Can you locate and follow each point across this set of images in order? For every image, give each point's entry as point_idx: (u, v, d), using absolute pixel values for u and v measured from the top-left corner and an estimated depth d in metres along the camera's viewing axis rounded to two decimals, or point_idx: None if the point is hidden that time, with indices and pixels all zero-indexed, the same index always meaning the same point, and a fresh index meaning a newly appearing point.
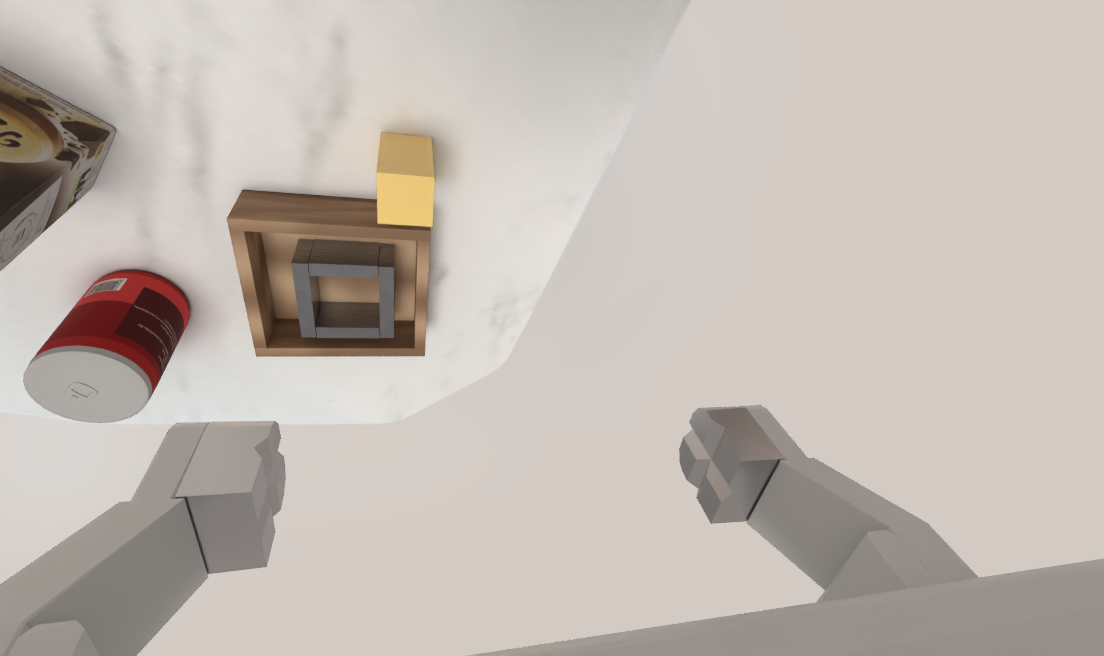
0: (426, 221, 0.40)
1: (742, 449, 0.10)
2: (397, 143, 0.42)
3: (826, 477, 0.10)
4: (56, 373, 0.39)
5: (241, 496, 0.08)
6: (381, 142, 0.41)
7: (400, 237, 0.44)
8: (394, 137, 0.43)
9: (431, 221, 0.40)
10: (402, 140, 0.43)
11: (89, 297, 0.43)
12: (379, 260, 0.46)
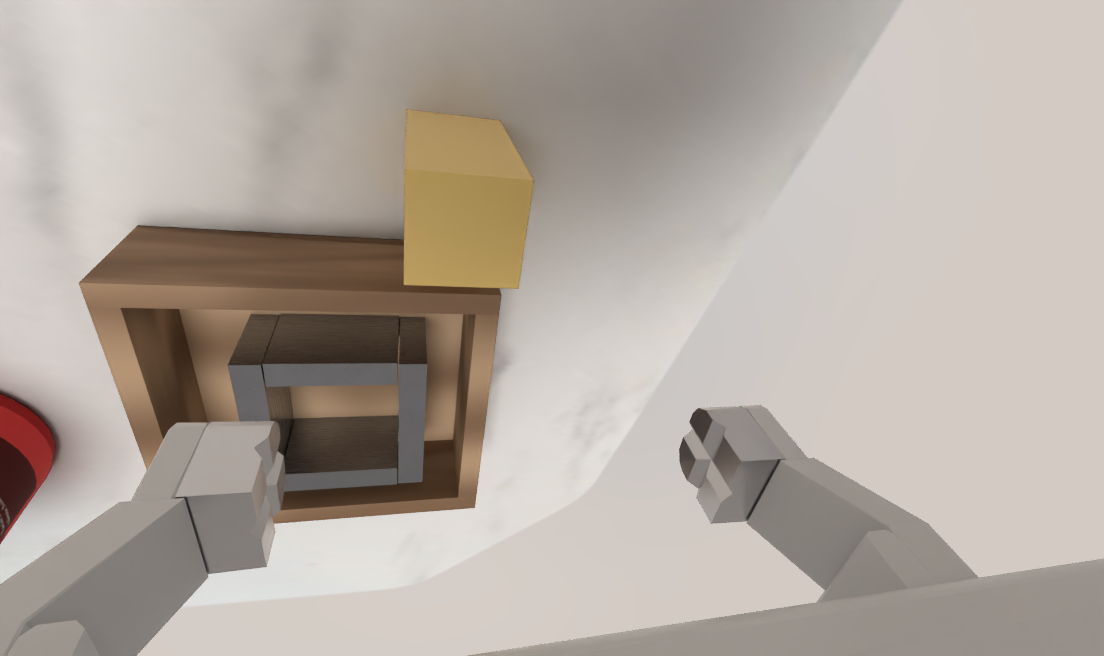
0: (506, 278, 0.19)
1: (742, 449, 0.10)
2: (440, 125, 0.21)
3: (826, 477, 0.10)
4: None
5: (241, 496, 0.08)
6: (409, 122, 0.21)
7: (443, 309, 0.22)
8: (432, 117, 0.22)
9: (517, 277, 0.19)
10: (448, 121, 0.22)
11: None
12: (400, 351, 0.25)
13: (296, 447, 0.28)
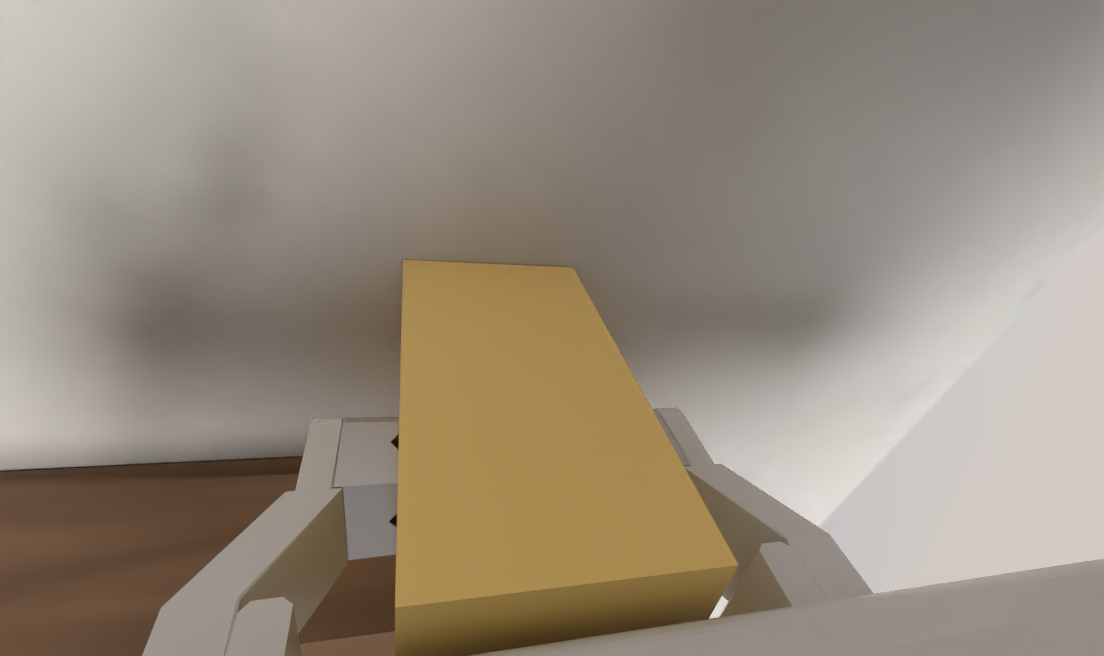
0: None
1: None
2: (471, 310, 0.10)
3: (729, 484, 0.09)
4: None
5: (389, 486, 0.08)
6: (408, 313, 0.10)
7: None
8: (453, 280, 0.11)
9: None
10: (485, 289, 0.11)
11: None
12: None
13: None
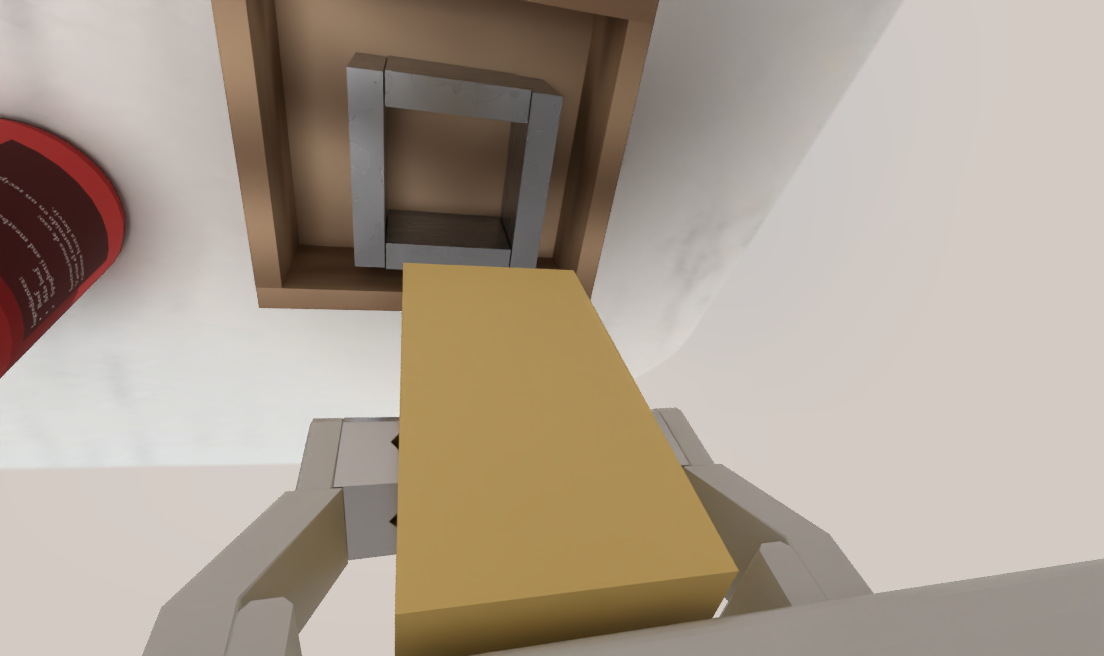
0: None
1: None
2: (471, 314, 0.10)
3: (729, 484, 0.09)
4: None
5: (389, 487, 0.08)
6: (408, 316, 0.10)
7: (595, 6, 0.19)
8: (454, 283, 0.11)
9: None
10: (485, 292, 0.11)
11: None
12: (529, 87, 0.22)
13: (396, 227, 0.24)
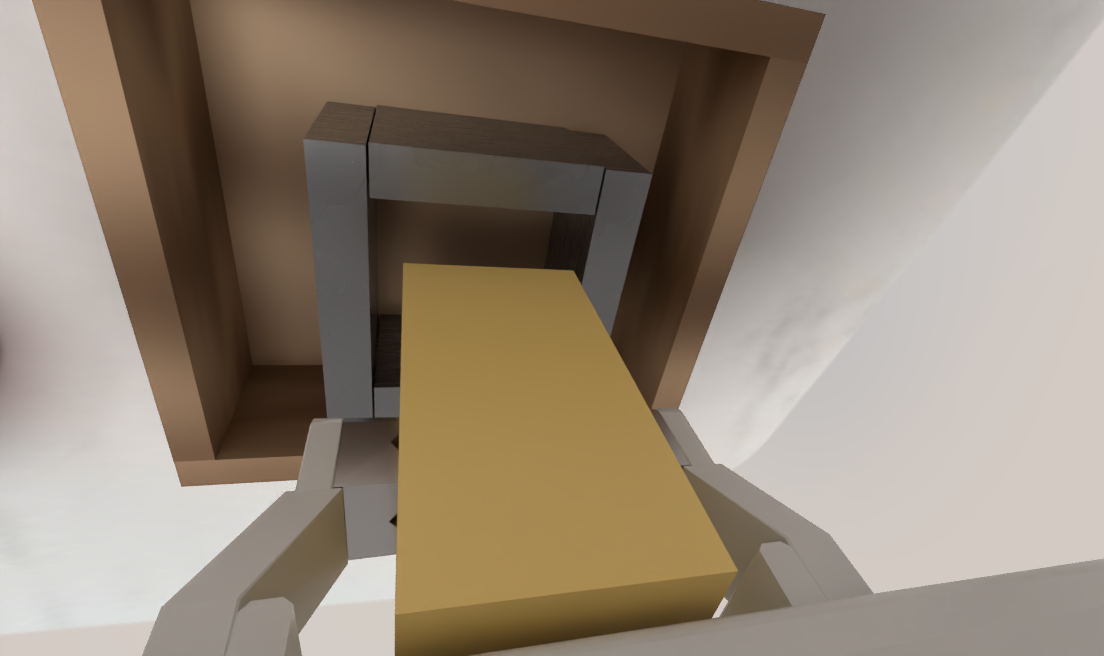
0: None
1: None
2: (471, 314, 0.10)
3: (730, 485, 0.09)
4: None
5: (389, 486, 0.08)
6: (408, 316, 0.10)
7: (720, 36, 0.12)
8: (454, 284, 0.11)
9: None
10: (485, 292, 0.11)
11: None
12: (596, 157, 0.14)
13: (391, 351, 0.17)
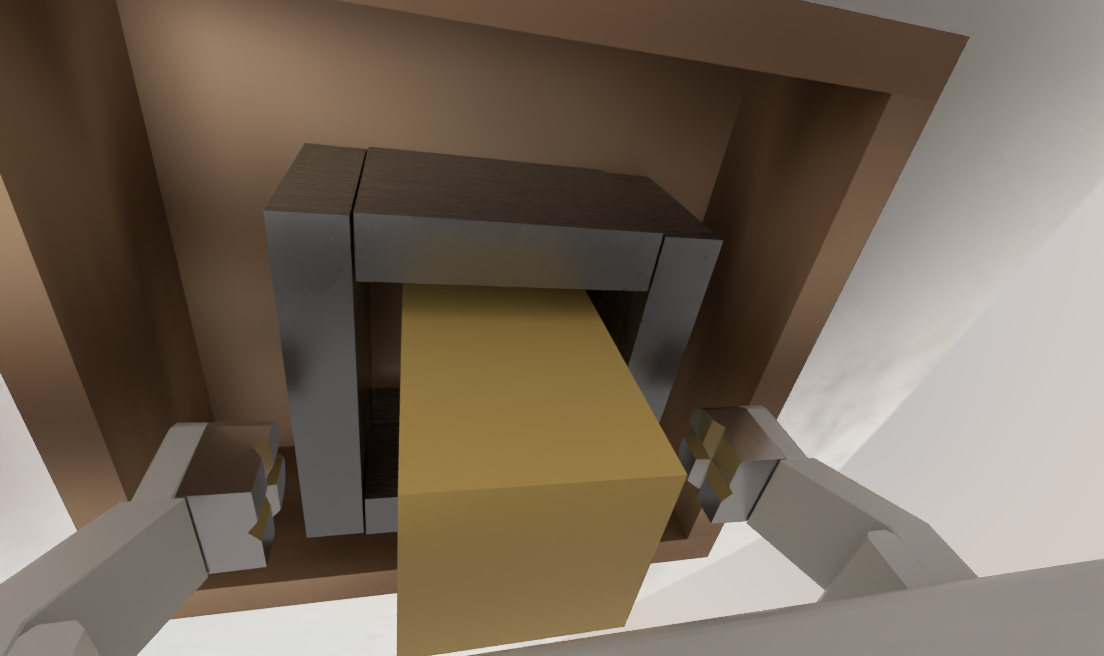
0: (602, 618, 0.09)
1: (742, 449, 0.10)
2: None
3: (826, 477, 0.10)
4: None
5: (241, 496, 0.08)
6: None
7: (830, 67, 0.09)
8: None
9: (625, 613, 0.09)
10: None
11: None
12: (648, 216, 0.11)
13: (387, 442, 0.14)
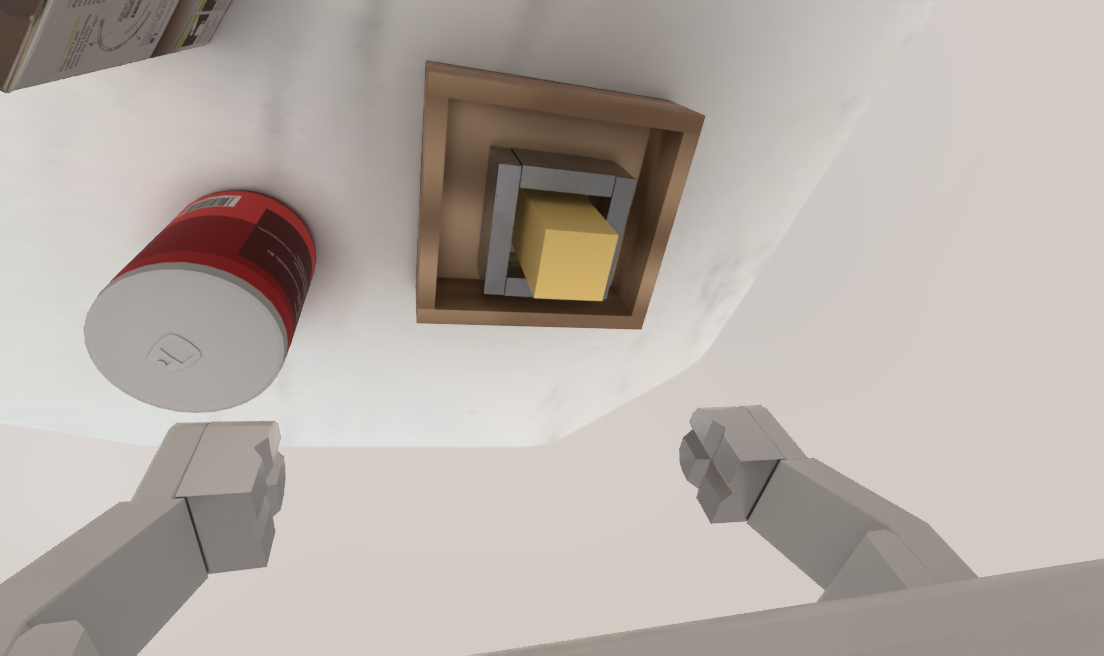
0: (595, 294, 0.30)
1: (742, 449, 0.10)
2: (546, 194, 0.32)
3: (826, 477, 0.10)
4: (141, 315, 0.23)
5: (241, 496, 0.08)
6: (527, 193, 0.32)
7: (662, 124, 0.29)
8: None
9: (602, 294, 0.30)
10: None
11: (188, 214, 0.27)
12: (612, 172, 0.31)
13: (509, 265, 0.34)
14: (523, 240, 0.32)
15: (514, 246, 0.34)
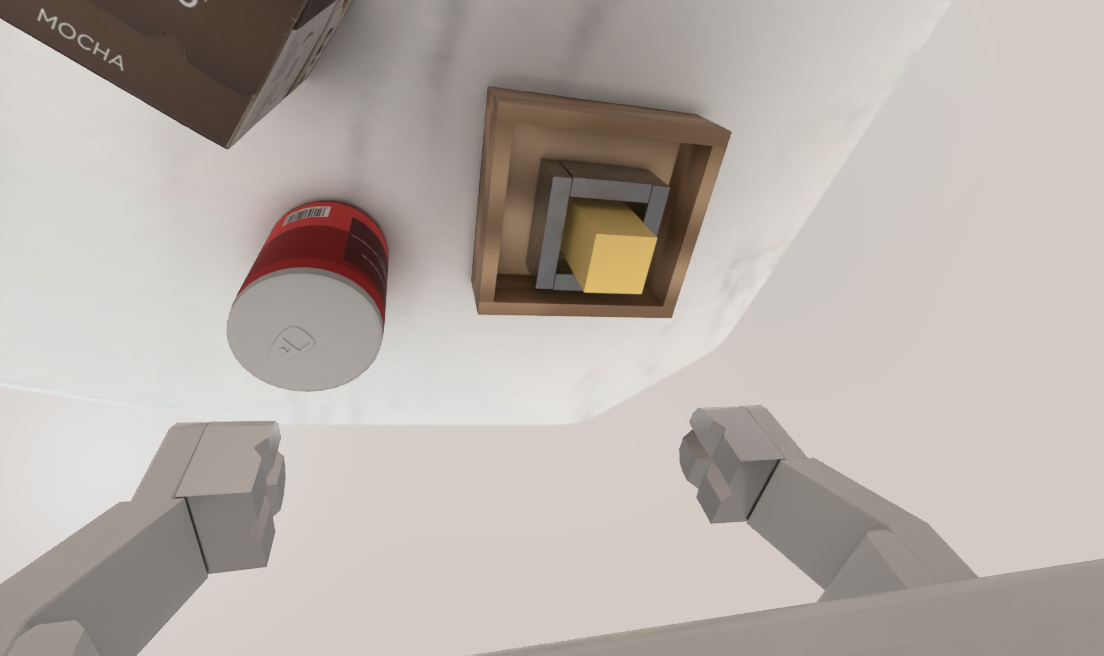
0: (636, 288, 0.34)
1: (742, 449, 0.10)
2: (590, 201, 0.37)
3: (827, 477, 0.10)
4: (271, 311, 0.28)
5: (241, 496, 0.08)
6: (574, 200, 0.36)
7: (694, 140, 0.33)
8: None
9: (641, 288, 0.34)
10: None
11: (291, 224, 0.32)
12: (648, 180, 0.36)
13: None
14: (570, 241, 0.36)
15: (560, 246, 0.39)
